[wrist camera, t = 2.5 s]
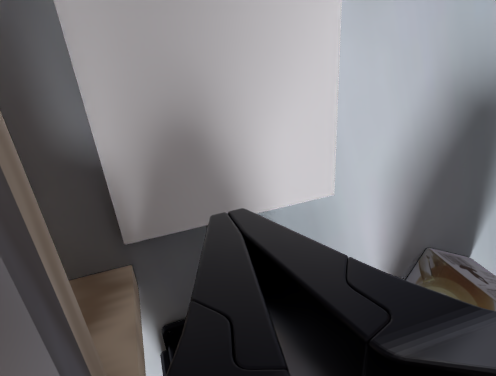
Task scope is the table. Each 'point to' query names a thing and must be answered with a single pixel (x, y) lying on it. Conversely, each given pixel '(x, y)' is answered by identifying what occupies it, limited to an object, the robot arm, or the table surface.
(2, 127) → the lid
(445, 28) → the table surface
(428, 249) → the coffee box
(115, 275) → the rail
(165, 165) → the grey mat
